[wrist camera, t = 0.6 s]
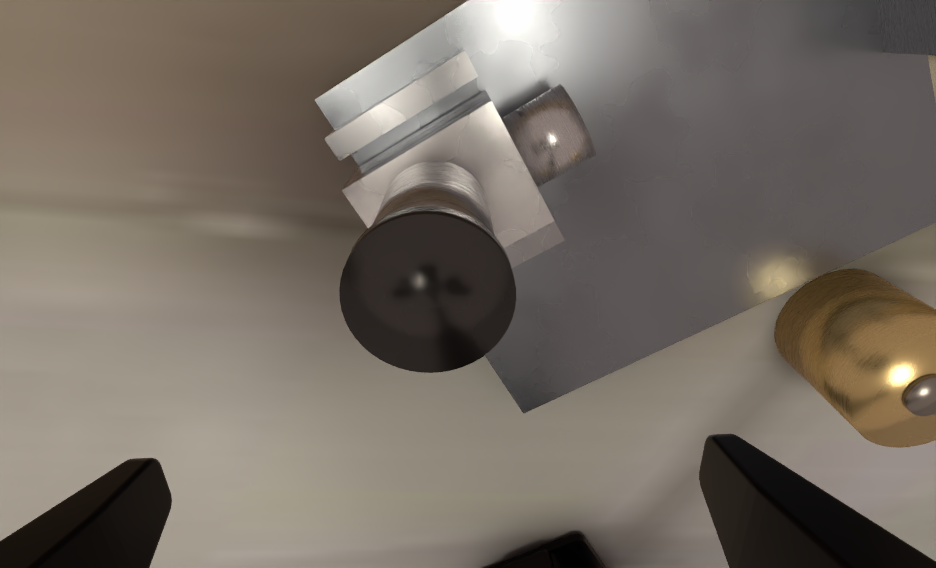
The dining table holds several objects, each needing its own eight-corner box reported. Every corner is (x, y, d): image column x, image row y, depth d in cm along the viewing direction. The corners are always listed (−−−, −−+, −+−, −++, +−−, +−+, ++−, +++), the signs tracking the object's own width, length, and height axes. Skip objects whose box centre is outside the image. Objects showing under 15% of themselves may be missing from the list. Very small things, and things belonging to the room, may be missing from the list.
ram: (592, 166, 18) (692, 263, 11) (419, 261, 20) (399, 407, 12) (541, 56, 17) (615, 78, 9) (357, 168, 18) (288, 267, 10)
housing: (902, 338, 24) (1016, 417, 19) (790, 386, 25) (872, 472, 20) (879, 248, 22) (1001, 310, 17) (760, 303, 23) (842, 377, 18)
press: (928, 204, 21) (1080, 259, 16) (520, 396, 24) (538, 492, 19) (842, -241, 15) (1042, -378, 10) (322, 95, 18) (273, 120, 13)
